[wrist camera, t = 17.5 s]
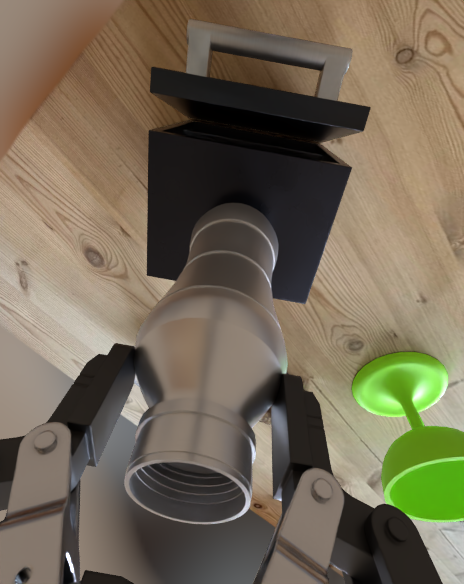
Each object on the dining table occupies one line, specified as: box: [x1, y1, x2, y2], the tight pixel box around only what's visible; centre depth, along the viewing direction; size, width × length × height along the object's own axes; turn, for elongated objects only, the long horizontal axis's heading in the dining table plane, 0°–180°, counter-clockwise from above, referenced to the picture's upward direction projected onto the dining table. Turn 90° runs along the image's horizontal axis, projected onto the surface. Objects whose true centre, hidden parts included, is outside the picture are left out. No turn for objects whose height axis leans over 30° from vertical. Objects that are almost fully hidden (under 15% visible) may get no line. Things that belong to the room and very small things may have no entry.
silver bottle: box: [124, 203, 288, 524], centre depth 17 cm, size 6×7×20 cm
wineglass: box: [352, 352, 464, 522], centre depth 48 cm, size 16×16×18 cm
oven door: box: [150, 19, 370, 142], centre depth 29 cm, size 5×16×15 cm, turn 81°
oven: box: [147, 120, 352, 304], centre depth 34 cm, size 13×16×15 cm
